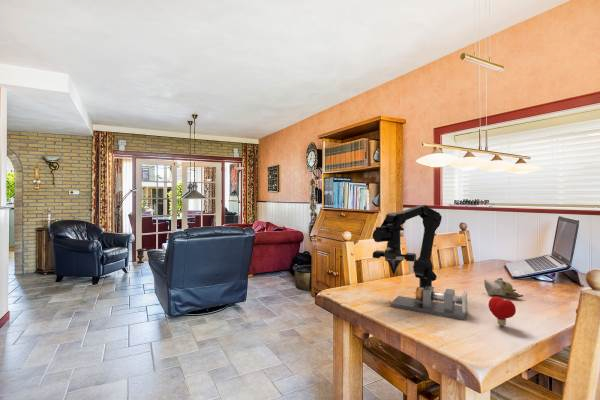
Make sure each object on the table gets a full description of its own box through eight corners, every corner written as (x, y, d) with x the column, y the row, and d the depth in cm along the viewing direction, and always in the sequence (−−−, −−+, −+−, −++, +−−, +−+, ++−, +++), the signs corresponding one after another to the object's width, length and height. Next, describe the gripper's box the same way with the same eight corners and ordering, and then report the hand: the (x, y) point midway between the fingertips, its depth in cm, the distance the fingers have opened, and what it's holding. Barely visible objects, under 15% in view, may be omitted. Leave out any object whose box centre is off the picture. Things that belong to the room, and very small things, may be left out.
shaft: (418, 298, 140) (418, 285, 140) (462, 305, 131) (462, 291, 131) (415, 302, 136) (415, 288, 136) (461, 309, 127) (461, 295, 127)
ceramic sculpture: (481, 273, 160) (516, 277, 156) (480, 290, 160) (514, 295, 156) (487, 279, 150) (525, 283, 146) (486, 297, 150) (523, 302, 146)
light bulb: (483, 322, 121) (483, 295, 121) (496, 320, 123) (497, 293, 123) (506, 332, 112) (507, 303, 112) (520, 329, 115) (521, 301, 114)
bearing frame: (398, 298, 148) (398, 280, 148) (467, 310, 133) (467, 290, 133) (390, 306, 138) (390, 286, 138) (464, 320, 123) (464, 297, 123)
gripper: (368, 241, 148) (368, 275, 148) (411, 244, 138) (411, 281, 139) (376, 238, 157) (376, 270, 158) (416, 241, 148) (416, 275, 148)
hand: (394, 274), depth 150 cm, fingers closed
